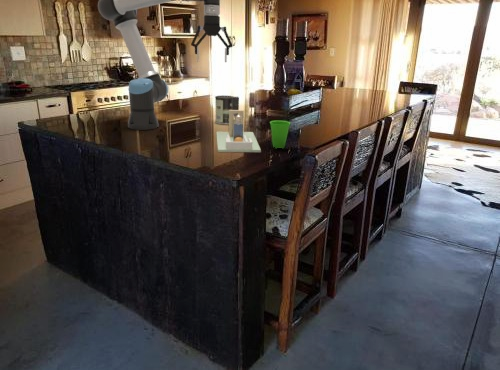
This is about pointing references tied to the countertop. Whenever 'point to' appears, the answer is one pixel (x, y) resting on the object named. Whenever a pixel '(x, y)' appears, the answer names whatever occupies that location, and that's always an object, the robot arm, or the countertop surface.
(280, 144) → the cup
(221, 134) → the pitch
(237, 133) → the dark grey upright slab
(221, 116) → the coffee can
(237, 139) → the ball
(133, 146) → the countertop surface
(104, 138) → the countertop surface
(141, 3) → the robot arm
